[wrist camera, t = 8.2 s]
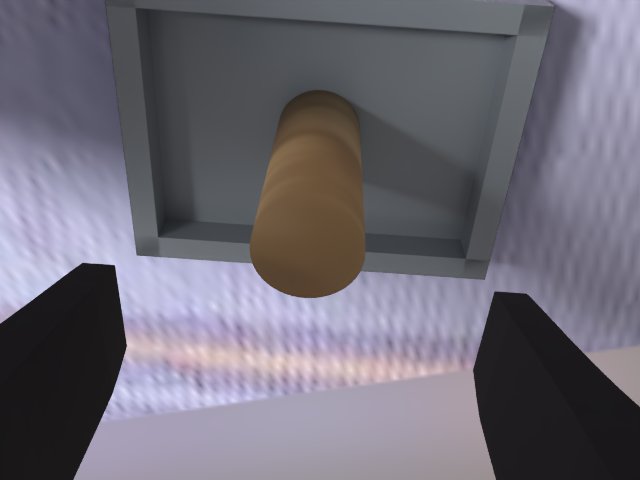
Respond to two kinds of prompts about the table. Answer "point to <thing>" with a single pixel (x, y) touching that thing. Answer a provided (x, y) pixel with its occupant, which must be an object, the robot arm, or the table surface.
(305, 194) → the pin
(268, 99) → the tray
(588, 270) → the table surface
